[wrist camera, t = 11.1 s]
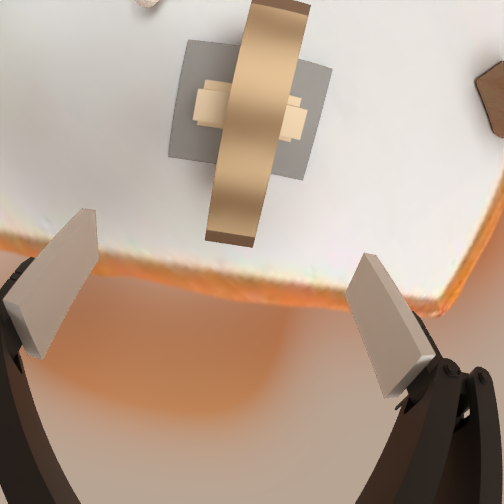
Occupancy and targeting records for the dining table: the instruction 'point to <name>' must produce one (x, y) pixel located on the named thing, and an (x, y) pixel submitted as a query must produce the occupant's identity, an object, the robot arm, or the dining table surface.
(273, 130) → the oak bar
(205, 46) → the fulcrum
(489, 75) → the wooden block
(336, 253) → the dining table surface
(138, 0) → the cup
